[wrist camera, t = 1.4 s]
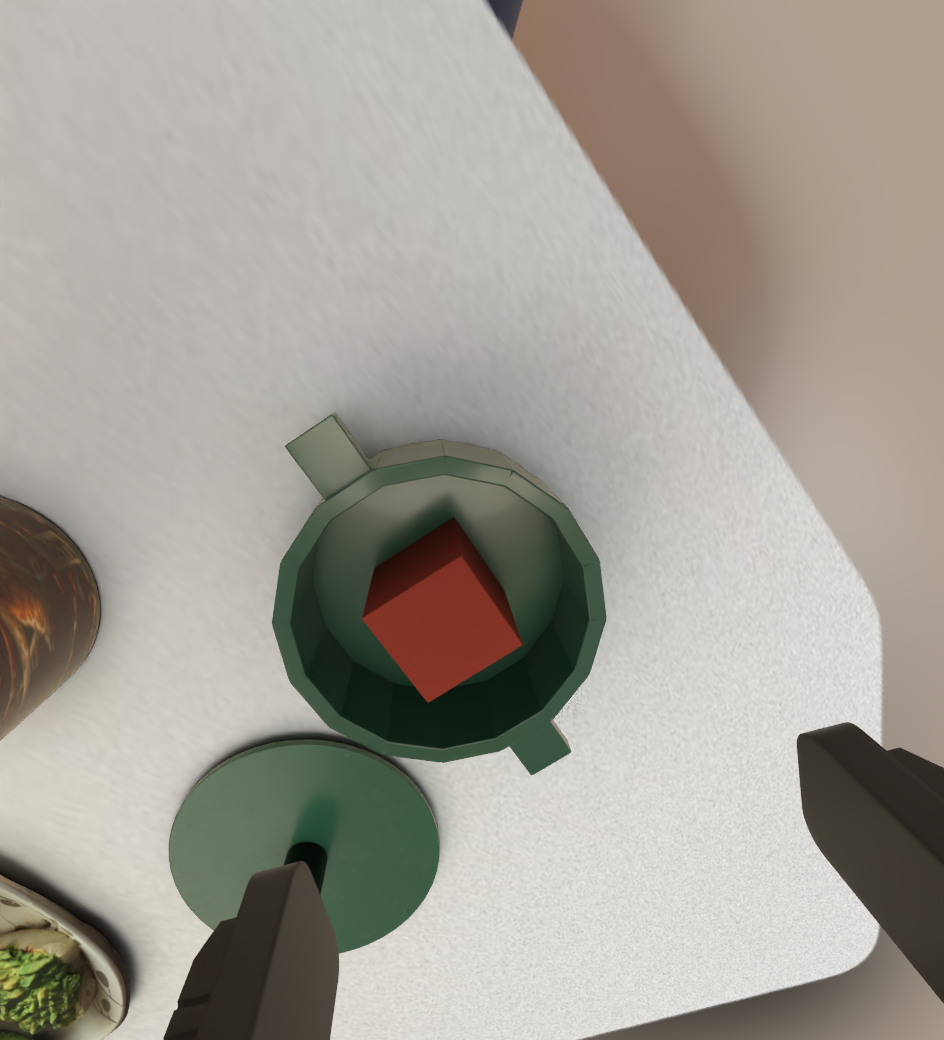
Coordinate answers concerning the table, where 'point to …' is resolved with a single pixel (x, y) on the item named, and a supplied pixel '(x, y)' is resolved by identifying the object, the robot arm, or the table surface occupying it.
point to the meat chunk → (440, 611)
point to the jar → (40, 611)
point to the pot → (391, 528)
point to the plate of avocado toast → (55, 972)
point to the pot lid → (308, 835)
